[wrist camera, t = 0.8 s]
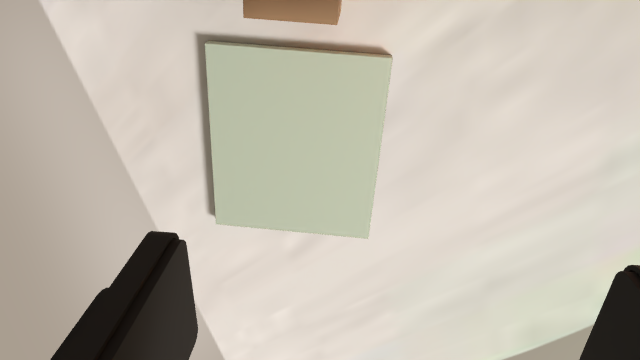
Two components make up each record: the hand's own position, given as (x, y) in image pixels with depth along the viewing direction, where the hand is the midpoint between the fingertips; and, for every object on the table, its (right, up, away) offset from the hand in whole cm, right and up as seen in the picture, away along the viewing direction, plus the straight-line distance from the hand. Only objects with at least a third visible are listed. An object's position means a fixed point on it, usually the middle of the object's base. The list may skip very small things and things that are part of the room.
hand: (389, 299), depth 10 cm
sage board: (-3, +5, +23) cm, 24 cm away
